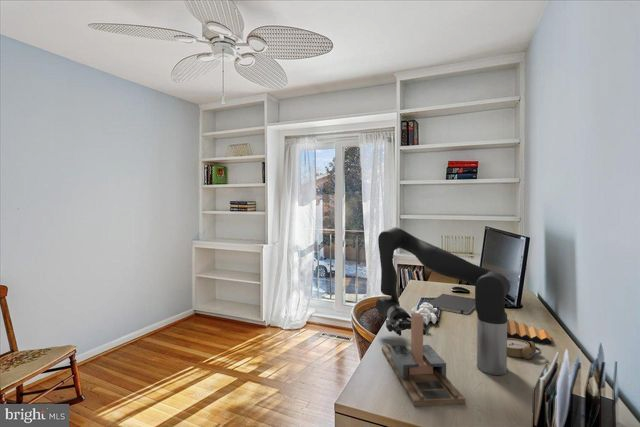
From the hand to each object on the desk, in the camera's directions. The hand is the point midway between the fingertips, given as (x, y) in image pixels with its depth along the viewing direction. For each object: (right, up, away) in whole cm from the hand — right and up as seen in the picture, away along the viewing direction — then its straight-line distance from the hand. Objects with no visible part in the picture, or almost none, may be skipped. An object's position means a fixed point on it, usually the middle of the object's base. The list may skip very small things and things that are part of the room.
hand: (412, 332), depth 117 cm
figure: (+18, -11, +46) cm, 50 cm away
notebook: (+44, -11, +72) cm, 86 cm away
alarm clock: (+44, -12, +11) cm, 47 cm away
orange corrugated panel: (+56, -12, +34) cm, 67 cm away
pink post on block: (0, -10, -5) cm, 11 cm away
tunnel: (0, -11, -5) cm, 12 cm away
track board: (0, -12, -5) cm, 13 cm away
